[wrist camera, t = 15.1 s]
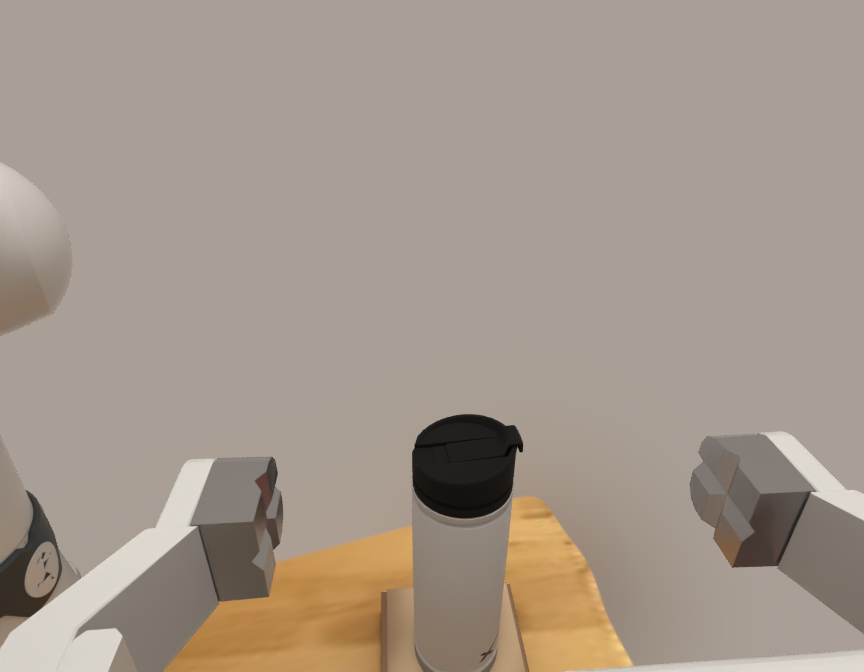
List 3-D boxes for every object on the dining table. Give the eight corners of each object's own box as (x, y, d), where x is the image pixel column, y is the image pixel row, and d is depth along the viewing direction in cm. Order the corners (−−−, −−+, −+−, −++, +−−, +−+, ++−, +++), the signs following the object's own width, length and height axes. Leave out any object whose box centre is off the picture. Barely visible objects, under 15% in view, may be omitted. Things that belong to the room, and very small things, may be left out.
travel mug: (510, 681, 41) (537, 469, 31) (419, 693, 40) (416, 480, 30) (491, 603, 46) (508, 402, 36) (410, 613, 45) (406, 410, 36)
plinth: (382, 757, 40) (380, 726, 38) (382, 614, 50) (380, 584, 48) (536, 744, 41) (541, 714, 39) (507, 606, 50) (510, 576, 48)
